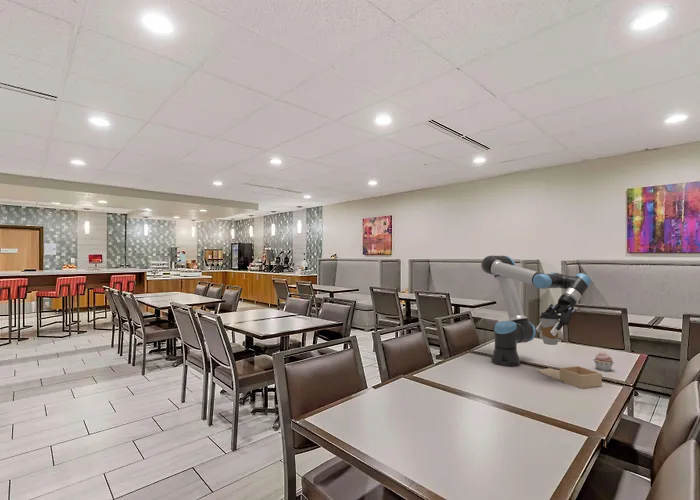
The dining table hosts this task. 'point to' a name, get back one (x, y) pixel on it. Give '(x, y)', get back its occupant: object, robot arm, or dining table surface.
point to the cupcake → (603, 361)
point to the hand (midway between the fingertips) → (544, 332)
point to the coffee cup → (549, 327)
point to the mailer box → (575, 376)
